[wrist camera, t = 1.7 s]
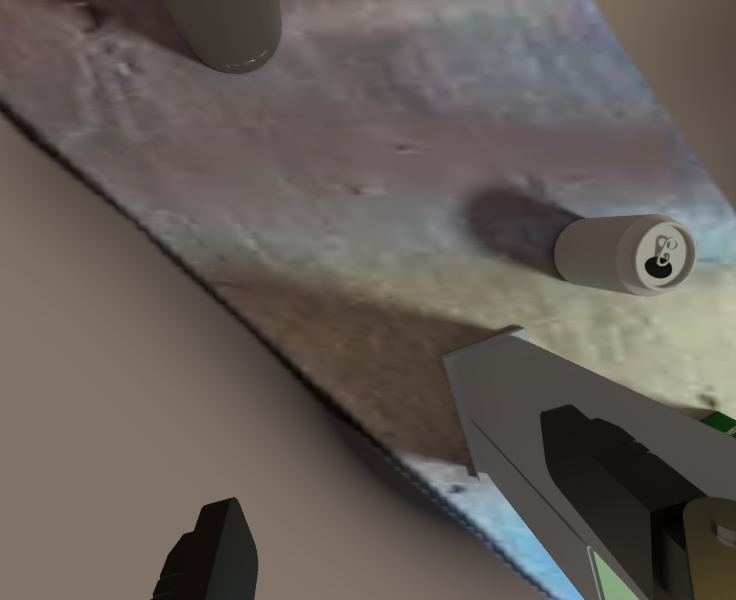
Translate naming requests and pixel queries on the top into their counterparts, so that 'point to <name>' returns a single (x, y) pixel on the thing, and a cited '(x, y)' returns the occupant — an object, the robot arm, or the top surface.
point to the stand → (526, 452)
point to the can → (627, 254)
